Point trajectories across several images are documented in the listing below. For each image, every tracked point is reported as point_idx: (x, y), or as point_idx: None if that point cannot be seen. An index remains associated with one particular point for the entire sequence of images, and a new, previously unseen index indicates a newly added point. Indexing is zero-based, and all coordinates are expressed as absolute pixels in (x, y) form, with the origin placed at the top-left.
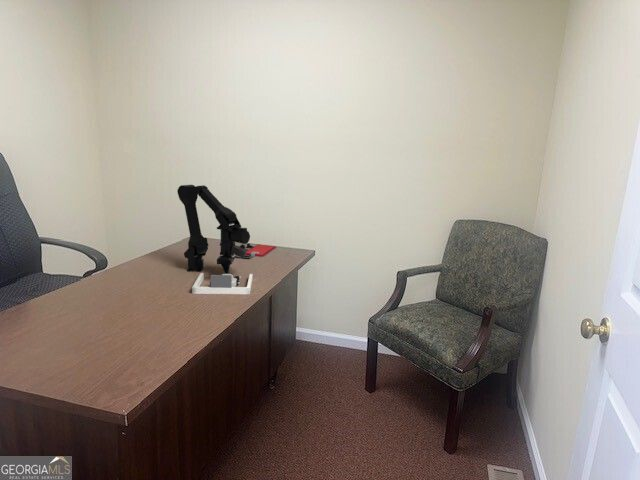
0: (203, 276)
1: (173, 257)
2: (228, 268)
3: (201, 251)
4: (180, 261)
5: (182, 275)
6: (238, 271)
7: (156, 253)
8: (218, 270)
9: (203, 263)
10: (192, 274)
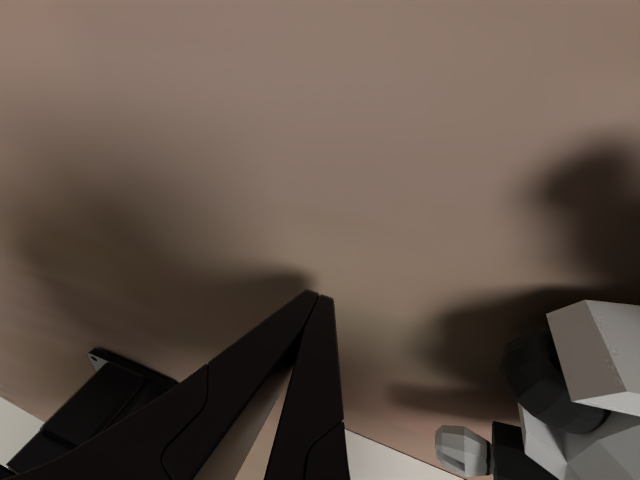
0: (347, 455)
1: (15, 381)
2: (338, 418)
3: None
4: (49, 383)
5: (265, 461)
6: (62, 65)
7: (9, 400)
8: (116, 283)
9: (91, 406)
10: None
